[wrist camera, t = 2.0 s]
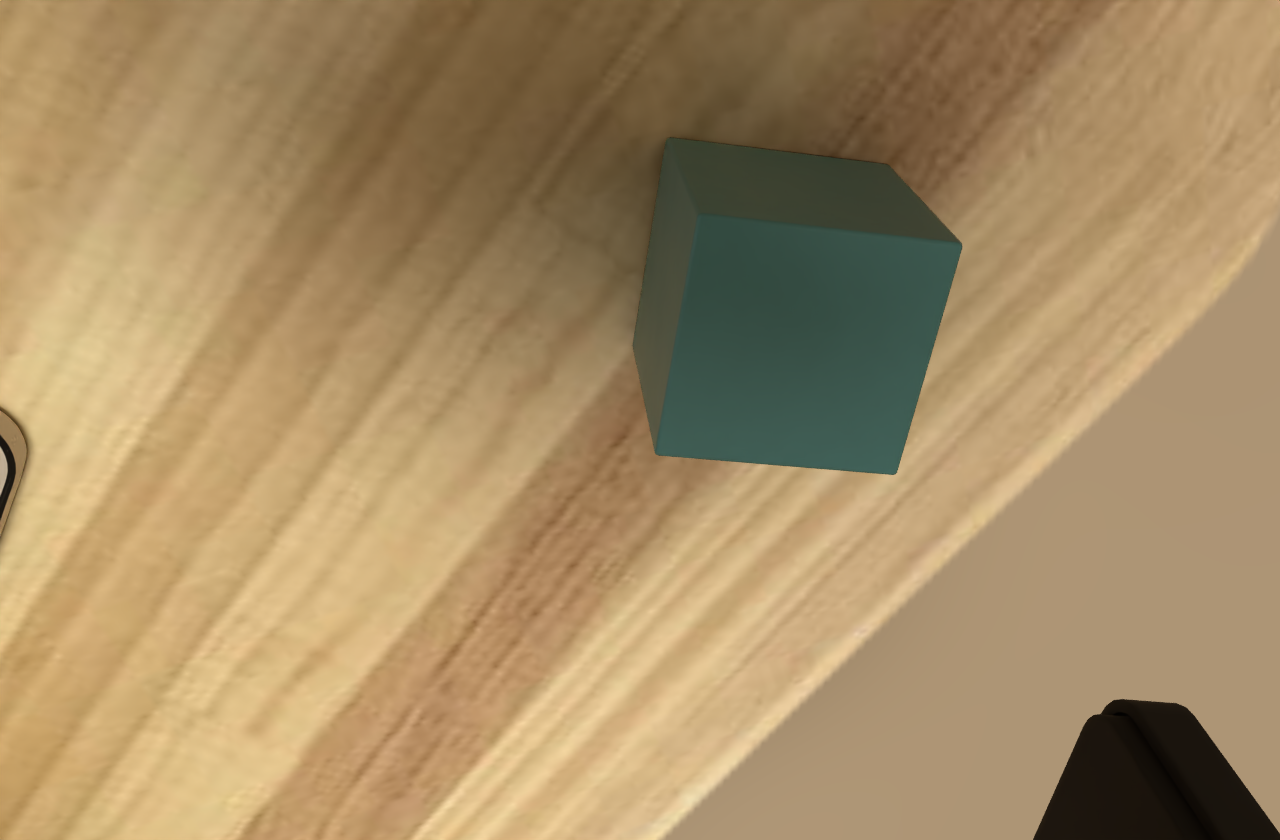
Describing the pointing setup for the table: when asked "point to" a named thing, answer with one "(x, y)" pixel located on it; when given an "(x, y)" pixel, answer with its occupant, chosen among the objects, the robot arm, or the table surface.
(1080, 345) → the table surface
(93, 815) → the table surface
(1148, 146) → the table surface
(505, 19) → the table surface
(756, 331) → the block
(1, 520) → the smartphone
